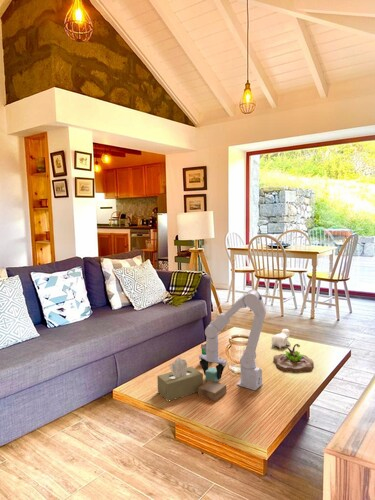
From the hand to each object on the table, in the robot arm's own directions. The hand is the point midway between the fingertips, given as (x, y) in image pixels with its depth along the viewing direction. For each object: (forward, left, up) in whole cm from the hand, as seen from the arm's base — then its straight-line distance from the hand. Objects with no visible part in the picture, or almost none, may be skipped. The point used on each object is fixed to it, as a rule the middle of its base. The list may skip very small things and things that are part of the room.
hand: (212, 376), depth 173 cm
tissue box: (+6, +18, -2) cm, 19 cm away
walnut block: (-8, +11, -2) cm, 14 cm away
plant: (-25, -40, -2) cm, 47 cm away
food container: (+14, -20, -2) cm, 24 cm away
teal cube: (0, 0, -2) cm, 2 cm away
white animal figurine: (-8, -63, -2) cm, 63 cm away
